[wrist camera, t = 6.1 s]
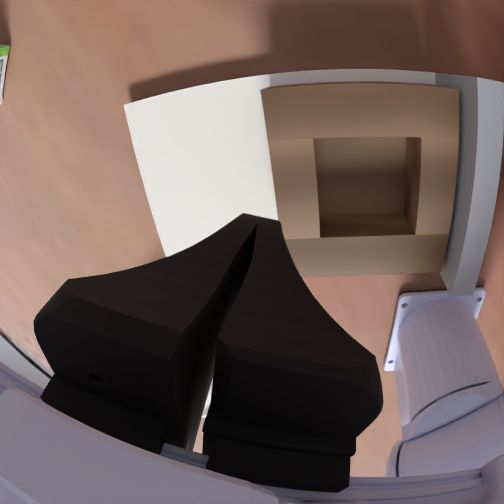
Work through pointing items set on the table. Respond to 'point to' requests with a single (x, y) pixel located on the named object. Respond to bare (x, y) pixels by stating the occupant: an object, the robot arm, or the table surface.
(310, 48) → the table surface
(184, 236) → the backstop board
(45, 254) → the table surface
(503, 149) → the birch dowel
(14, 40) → the table surface
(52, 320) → the robot arm
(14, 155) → the table surface
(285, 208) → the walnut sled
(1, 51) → the syrup box
